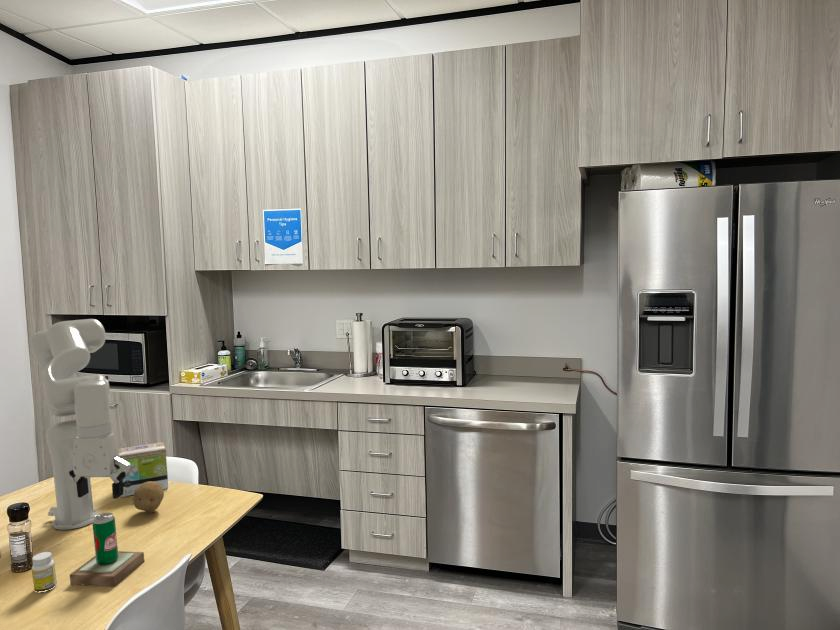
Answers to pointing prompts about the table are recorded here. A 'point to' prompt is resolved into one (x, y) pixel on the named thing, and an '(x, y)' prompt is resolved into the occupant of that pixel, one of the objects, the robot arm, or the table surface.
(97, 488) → the table surface
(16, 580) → the table surface
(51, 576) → the supplement bottle
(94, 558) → the walnut picture frame
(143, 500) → the natural sponge
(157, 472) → the tea box
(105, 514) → the soda can
